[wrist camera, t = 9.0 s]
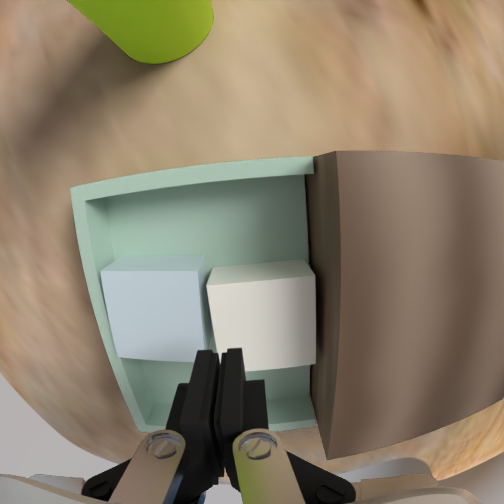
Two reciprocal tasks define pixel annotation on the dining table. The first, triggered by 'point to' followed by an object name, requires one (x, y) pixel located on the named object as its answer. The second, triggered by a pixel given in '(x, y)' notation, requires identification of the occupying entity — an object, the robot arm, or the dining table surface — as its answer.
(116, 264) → the pale blue square block
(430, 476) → the robot arm
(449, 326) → the brown wooden block
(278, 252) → the box
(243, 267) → the cream square block
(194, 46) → the soap dispenser
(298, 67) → the dining table surface
